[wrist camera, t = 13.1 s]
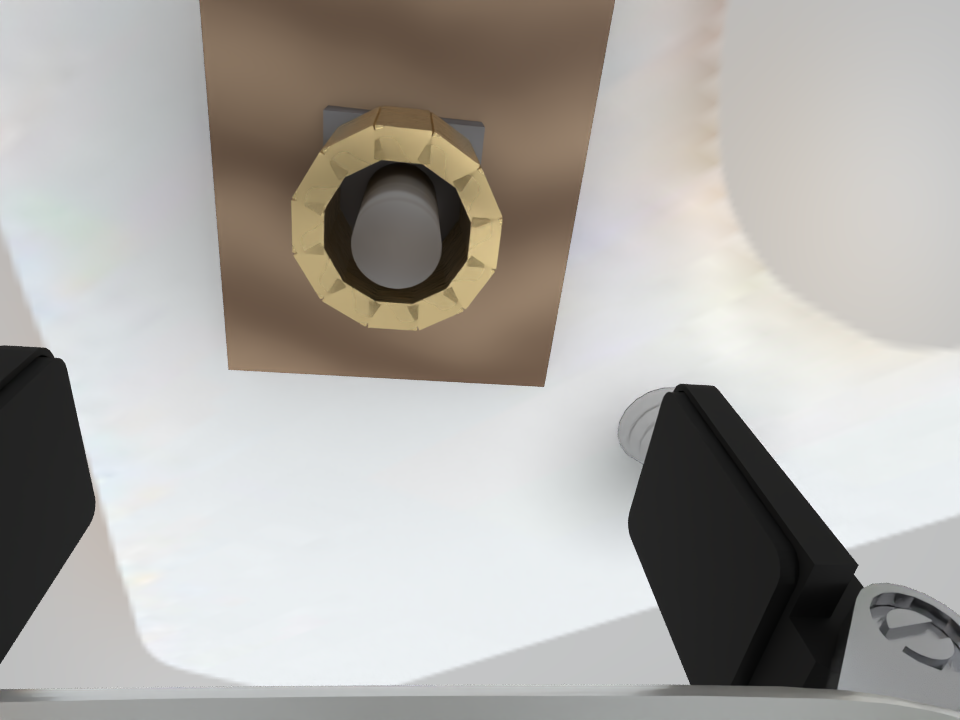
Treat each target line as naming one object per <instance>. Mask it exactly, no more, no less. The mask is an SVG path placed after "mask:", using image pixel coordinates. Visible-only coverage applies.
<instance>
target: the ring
mask: <svg viewBox="0 0 960 720" xmlns="http://www.w3.org/2000/svg"><path fill="white" fill-rule="evenodd" d="M380 160H387V161H397V162H407V163H417V164H423V165H424V166H426V167H427V168H429V169H430V170H431V171H433V172H434V173H436V174H437V175H438V176H440V177H441V178H443V179H444V180H445V181H447V182H448V183H449V184H451V185H452V186H454V187H455V188H456V190H457V192H458V194H459V197H460V199H461V203H460V213H459V220H458V221H457V223H456V224H455V225H454V227H453V228H452V230H451V231H450V232H449V234H448V235H447V236H446V238H445V239H444V241H443V242H442V251H441V257H440V260H439V263H438V265H437V267H436V268H435V270H434V271H433V273H432V274H431V275H430V276H429V277H428V278H427V279H426V280H424V281H423V282H421V283H419V284H417V285H415V286H412V287H408V288H402V289H394V288H387V287H384V286H381V285H378V284H376V283H375V282H373V281H371V280H370V279H368V278H367V277H366V276H365V275H364V274H363V273H362V272H361V271H360V269H359V268H358V266H357V264H356V262H355V260H354V258H353V254H352V249H351V239H352V234H353V231H352V229H351V227H350V226H349V224H348V222H347V220H346V218H345V216H344V215H343V213H342V211H341V209H340V188H341V183H342V181H343V179H344V178H345V177H347V176H349V175H351V174H353V173H355V172H357V171H359V170H361V169H363V168H365V167H368V166H370V165H372V164H374V163H376V162H378V161H380ZM292 198H293V199H292V200H291V212H292V253H294V255H293V256H294V257H295V259H296V261H297V262H298V264H299V266H300V267H301V269H302V271H303V272H304V274H305V275H306V277H307V279H308V280H309V282H310V284H311V285H312V287H313V289H314V290H315V292H316V293H317V295H318V297H319V298H320V299H322V298H323V300H322V301H323V302H324V303H326V304H328V305H329V306H331V307H333V308H334V309H336V310H338V311H340V312H341V313H343V314H345V315H346V316H348V317H350V318H351V319H353V320H355V321H356V322H358V323H360V324H361V325H363V326H365V327H366V325H367V324H368V328H382V329H397V330H412V331H417V326H418V328H419V330H422V329H424V328H426V327H428V326H431V325H433V324H435V323H438V322H440V321H442V320H445V319H447V318H449V317H451V316H454V315H456V314H458V313H461V312H463V311H464V310H463V308H464V309H467V307H468V306H469V305H470V303H471V302H472V301H473V300H474V298H475V297H476V296H477V294H478V293H479V292H480V290H481V289H482V288H483V287H484V285H485V284H486V283H487V281H488V280H489V279H490V277H491V276H492V275H493V274H494V272H495V269H496V267H497V259H498V252H499V244H500V237H501V229H502V222H503V219H502V215H501V212H500V210H499V208H498V205H497V203H496V200H495V198H494V196H493V193H492V191H491V189H490V186H489V184H488V182H487V179H486V177H485V174H484V172H483V170H482V167H481V165H480V163H479V161H478V158H477V156H476V154H475V152H474V149H473V147H472V145H471V142H469V139H467V138H466V137H465V136H463V135H462V134H461V133H459V132H458V131H457V130H455V129H454V128H453V127H452V126H450V125H449V124H448V123H446V122H445V121H444V120H442V119H441V118H440V117H438V116H437V115H436V114H434V113H433V112H431V113H430V112H429V110H421V109H411V108H402V107H393V106H384V105H383V107H382V108H381V106H379V107H377V108H375V109H373V110H371V111H369V112H367V113H365V114H363V115H361V116H359V117H357V118H354V119H352V120H350V121H348V122H346V123H344V124H342V125H340V126H339V127H338V128H337V129H336V131H335V132H334V133H333V135H332V136H331V137H330V139H329V140H328V141H327V143H326V144H325V145H324V147H323V148H322V149H321V151H320V152H319V154H318V156H317V157H316V159H315V160H314V162H313V164H312V165H311V167H310V169H309V170H308V172H307V174H306V175H305V177H304V179H303V180H302V182H301V184H300V185H299V187H298V189H297V190H296V192H295V194H294V195H293V197H292Z"/></svg>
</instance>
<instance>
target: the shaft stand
mask: <svg viewBox="0 0 960 720" xmlns="http://www.w3.org/2000/svg"><path fill="white" fill-rule="evenodd" d="M199 1H200V13H201V26H202V39H203V51H204V64H205V77H206V89H207V102H208V115H209V127H210V140H211V153H212V165H213V178H214V191H215V203H216V216H217V229H218V241H219V254H220V267H221V279H222V292H223V305H224V317H225V330H226V343H227V355H228V368H229V370H244V371H262V372H280V373H299V374H317V375H336V376H354V377H372V378H391V379H409V380H427V381H446V382H464V383H483V384H501V385H519V386H538V387H544V384H545V379H546V373H547V368H548V363H549V357H550V352H551V346H552V341H553V335H554V330H555V324H556V319H557V314H558V308H559V303H560V297H561V292H562V286H563V281H564V275H565V270H566V265H567V259H568V254H569V248H570V243H571V237H572V232H573V226H574V221H575V216H576V210H577V205H578V199H579V194H580V188H581V183H582V177H583V172H584V167H585V161H586V156H587V150H588V145H589V139H590V134H591V128H592V123H593V118H594V112H595V107H596V101H597V96H598V90H599V85H600V79H601V74H602V69H603V63H604V58H605V52H606V47H607V41H608V36H609V30H610V25H611V20H612V14H613V9H614V3H615V0H199ZM383 105H384V106H393V107H402V108H411V109H421V110H429V112H430V113H431V112H433V113H434V114H436V115H437V116H438V117H440V118H441V119H442V120H444V121H445V122H446V123H448V124H449V125H450V126H452V127H453V128H454V129H455V130H457V131H458V132H459V133H461V134H462V135H463V136H465V137H466V138H467V139H469V142H471V145H472V147H473V149H474V152H475V154H476V156H477V158H478V161H479V163H480V165H481V167H482V170H483V172H484V174H485V177H486V179H487V182H488V184H489V186H490V189H491V191H492V193H493V196H494V198H495V200H496V203H497V205H498V208H499V210H500V212H501V215H502V219H503V222H502V229H501V237H500V244H499V252H498V259H497V267H496V269H495V272H494V274H493V275H492V276H491V277H490V279H489V280H488V281H487V283H486V284H485V285H484V287H483V288H482V289H481V290H480V292H479V293H478V294H477V296H476V297H475V298H474V300H473V301H472V302H471V303H470V305H469V306H468V307H467V309H464V308H463V310H464V311H463V312H461V313H458V314H456V315H454V316H451V317H449V318H447V319H445V320H442V321H440V322H438V323H435V324H433V325H431V326H428V327H426V328H424V329H422V330H419V328H418V326H417V331H412V330H397V329H382V328H368V324H367V325H366V327H365V326H363V325H361V324H360V323H358V322H356V321H355V320H353V319H351V318H350V317H348V316H346V315H345V314H343V313H341V312H340V311H338V310H336V309H334V308H333V307H331V306H329V305H328V304H326V303H324V302H323V301H322V300H323V298H322V299H320V298H319V297H318V295H317V293H316V292H315V290H314V289H313V287H312V285H311V284H310V282H309V280H308V279H307V277H306V275H305V274H304V272H303V271H302V269H301V267H300V266H299V264H298V262H297V261H296V259H295V257H294V256H293V255H294V253H292V212H291V200H292V199H293V198H292V197H293V195H294V194H295V192H296V190H297V189H298V187H299V185H300V184H301V182H302V180H303V179H304V177H305V175H306V174H307V172H308V170H309V169H310V167H311V165H312V164H313V162H314V160H315V159H316V157H317V156H318V154H319V152H320V151H321V149H322V148H323V147H324V145H325V144H326V143H327V141H328V140H329V139H330V137H331V136H332V135H333V133H334V132H335V131H336V129H337V128H338V127H339V126H340V125H342V124H344V123H346V122H348V121H350V120H352V119H354V118H357V117H359V116H361V115H363V114H365V113H367V112H369V111H371V110H373V109H375V108H377V107H379V106H381V108H382V107H383ZM460 203H461V199H460V197H459V194H458V192H457V190H456V188H455V187H454V186H452V185H451V184H449V183H448V182H447V181H445V180H444V179H443V178H441V177H440V176H438V175H437V174H436V173H434V172H433V171H431V170H430V169H429V168H427V167H426V166H424V165H423V164H417V163H407V162H397V161H387V160H380V161H378V162H376V163H374V164H372V165H370V166H368V167H365V168H363V169H361V170H359V171H357V172H355V173H353V174H351V175H349V176H347V177H345V178H344V179H343V181H342V183H341V188H340V209H341V211H342V213H343V215H344V216H345V218H346V220H347V222H348V224H349V226H350V227H351V229H352V231H353V234H352V239H351V249H352V254H353V258H354V260H355V262H356V264H357V266H358V268H359V269H360V271H361V272H362V273H363V274H364V275H365V276H366V277H367V278H368V279H370V280H371V281H373V282H375V283H376V284H378V285H381V286H384V287H387V288H394V289H402V288H408V287H412V286H415V285H417V284H419V283H421V282H423V281H424V280H426V279H427V278H428V277H429V276H430V275H431V274H432V273H433V271H434V270H435V268H436V267H437V265H438V263H439V260H440V257H441V251H442V242H443V241H444V239H445V238H446V236H447V235H448V234H449V232H450V231H451V230H452V228H453V227H454V225H455V224H456V223H457V221H458V220H459V213H460Z"/></svg>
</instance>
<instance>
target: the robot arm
mask: <svg viewBox="0 0 960 720" xmlns="http://www.w3.org/2000/svg"><path fill="white" fill-rule="evenodd" d="M94 511H95V496H94V491H93V486H92V482H91V477H90V473H89V468H88V463H87V459H86V454H85V450H84V445H83V440H82V436H81V431H80V427H79V422H78V418H77V413H76V408H75V404H74V399H73V395H72V390H71V385H70V381H69V376H68V372H67V368H66V365H65V363H64V361H63V360H62V359H60V358H54V356H53V354H52V353H51V351H50V350H48V349H47V348H40V347H22V346H0V664H1V662H2V660H3V659H4V657H5V656H6V654H7V653H8V651H9V650H10V648H11V646H12V645H13V643H14V642H15V640H16V638H17V637H18V635H19V634H20V632H21V631H22V629H23V628H24V626H25V625H26V623H27V621H28V620H29V618H30V617H31V615H32V614H33V612H34V611H35V609H36V607H37V606H38V604H39V603H40V601H41V600H42V598H43V597H44V595H45V593H46V592H47V590H48V589H49V587H50V586H51V584H52V583H53V581H54V579H55V578H56V576H57V575H58V573H59V571H60V570H61V569H62V567H63V565H64V564H65V562H66V560H67V559H68V558H69V556H70V554H71V553H72V551H73V550H74V548H75V547H76V545H77V543H78V542H79V540H80V539H81V537H82V536H83V534H84V533H85V531H86V529H87V528H88V526H89V525H90V523H91V521H92V519H93V516H94ZM628 529H629V534H630V537H631V540H632V542H633V545H634V547H635V550H636V552H637V555H638V557H639V559H640V562H641V564H642V567H643V569H644V572H645V574H646V577H647V579H648V582H649V584H650V587H651V589H652V591H653V594H654V596H655V599H656V601H657V604H658V606H659V609H660V611H661V614H662V616H663V618H664V621H665V623H666V626H667V628H668V630H669V633H670V636H671V638H672V641H673V643H674V645H675V648H676V650H677V653H678V655H679V658H680V660H681V663H682V665H683V668H684V670H685V672H686V675H687V677H688V680H689V682H690V685H371V686H240V687H153V688H152V687H151V688H79V689H78V688H74V689H72V688H71V689H1V690H0V720H960V616H959V615H958V614H957V613H955V612H954V611H953V610H951V609H950V608H949V607H947V606H946V605H945V604H942V603H941V602H939V601H937V600H936V599H934V598H932V597H930V596H928V595H926V594H925V593H922V592H919V591H917V590H914V589H911V588H908V587H905V586H901V585H896V584H890V583H879V584H871V585H869V586H867V587H865V588H864V587H863V586H862V584H861V583H860V582H859V581H858V579H857V578H856V577H855V575H854V573H855V571H856V569H857V567H858V564H857V563H856V562H855V560H854V559H853V558H852V557H851V555H850V554H849V553H848V551H847V550H846V549H845V548H844V546H843V545H842V544H841V543H840V541H839V540H838V539H837V538H836V536H835V535H834V534H833V533H832V531H831V530H830V529H829V528H828V526H827V525H826V524H825V523H824V521H823V520H822V519H821V518H820V516H819V515H818V514H817V513H816V511H815V510H814V509H813V508H812V506H811V505H810V504H809V503H808V501H807V500H806V499H805V498H804V496H803V495H802V494H801V493H800V491H799V490H798V489H797V488H796V486H795V485H794V484H793V483H792V481H791V480H790V479H789V478H788V476H787V475H786V474H785V473H784V471H783V470H782V469H781V468H780V466H779V465H778V464H777V463H776V461H775V460H774V459H773V458H772V456H771V455H770V454H769V453H768V451H767V450H766V449H765V448H764V446H763V445H762V444H761V443H760V441H759V440H758V439H757V438H756V436H755V435H754V434H753V433H752V431H751V430H750V429H749V428H748V426H747V425H746V424H745V423H744V421H743V420H742V419H741V418H740V416H739V415H738V414H737V413H736V411H735V410H734V409H733V408H732V406H731V405H730V404H729V403H728V401H727V400H726V399H725V398H724V396H723V395H722V394H721V393H720V391H719V390H718V389H717V388H716V387H715V386H709V385H691V384H679V385H677V386H676V388H675V389H674V391H673V392H667V393H666V394H665V395H664V397H663V399H662V402H661V406H660V409H659V413H658V416H657V419H656V423H655V426H654V430H653V433H652V437H651V440H650V444H649V447H648V450H647V454H646V457H645V461H644V464H643V468H642V471H641V475H640V478H639V481H638V485H637V488H636V492H635V495H634V499H633V502H632V506H631V509H630V512H629V517H628Z"/></svg>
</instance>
